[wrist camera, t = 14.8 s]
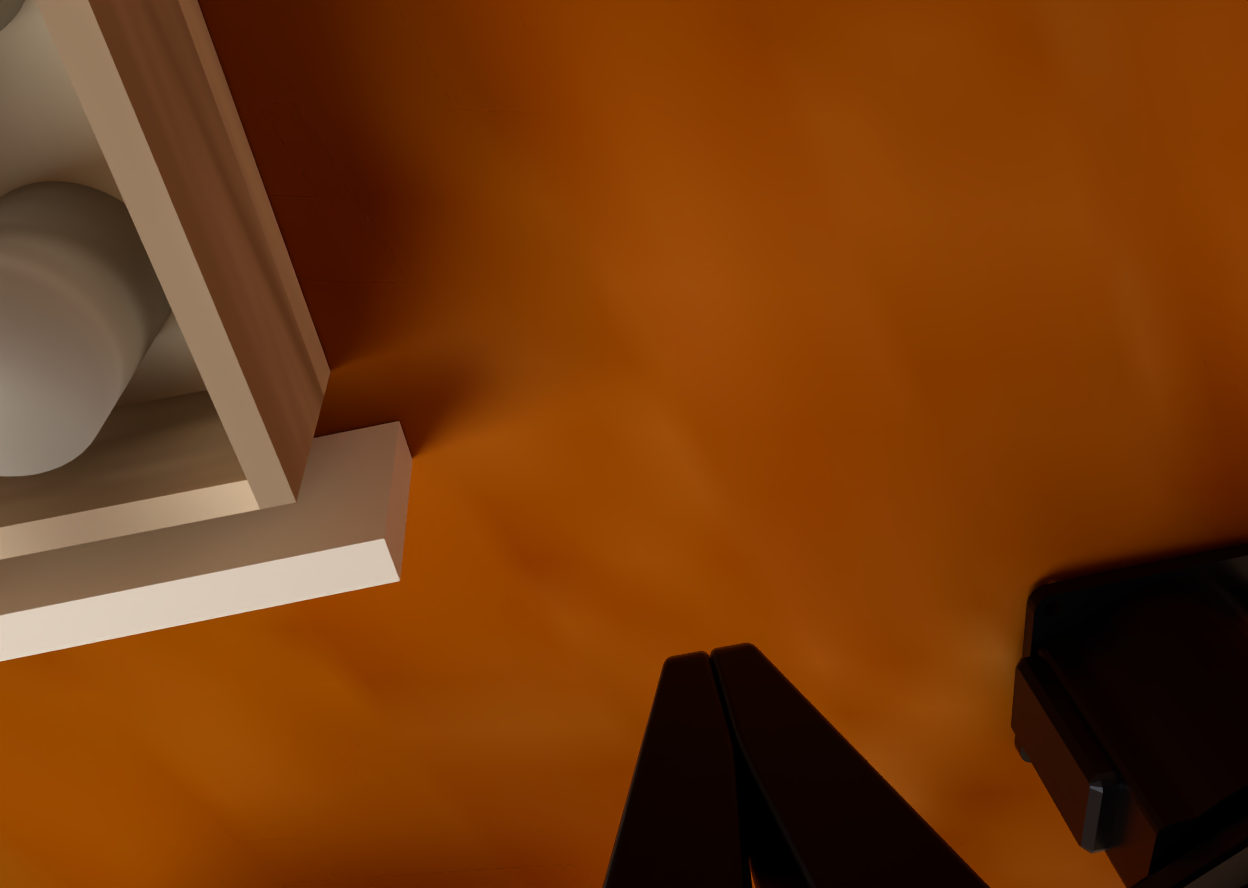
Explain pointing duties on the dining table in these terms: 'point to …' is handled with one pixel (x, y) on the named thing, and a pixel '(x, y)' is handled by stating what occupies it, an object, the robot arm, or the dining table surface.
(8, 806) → the dining table surface
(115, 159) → the crate with rolls
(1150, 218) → the dining table surface
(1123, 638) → the robot arm
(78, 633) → the beige u-shaped block
